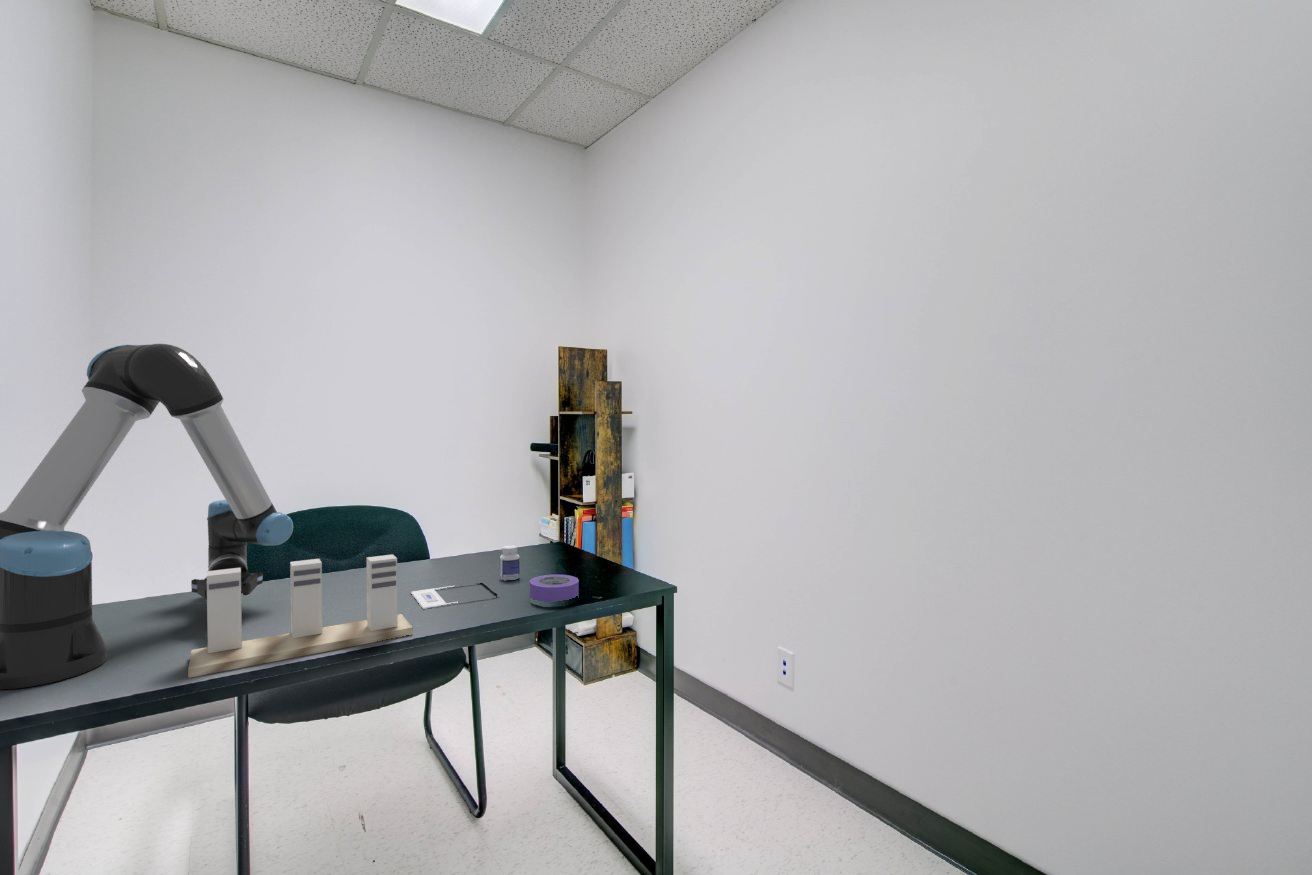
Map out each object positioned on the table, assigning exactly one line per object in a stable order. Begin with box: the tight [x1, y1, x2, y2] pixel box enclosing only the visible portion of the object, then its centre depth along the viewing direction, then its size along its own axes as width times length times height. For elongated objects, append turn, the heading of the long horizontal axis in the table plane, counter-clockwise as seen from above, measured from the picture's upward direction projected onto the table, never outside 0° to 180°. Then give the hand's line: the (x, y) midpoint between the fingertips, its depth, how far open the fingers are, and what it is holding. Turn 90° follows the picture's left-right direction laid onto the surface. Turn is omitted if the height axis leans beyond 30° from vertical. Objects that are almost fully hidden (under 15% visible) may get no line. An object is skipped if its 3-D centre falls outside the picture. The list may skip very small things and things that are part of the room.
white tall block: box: [289, 558, 323, 638], centre depth 117 cm, size 5×4×14 cm
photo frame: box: [410, 585, 458, 610], centre depth 148 cm, size 15×1×18 cm
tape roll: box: [529, 574, 580, 602], centre depth 146 cm, size 12×12×5 cm
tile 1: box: [206, 568, 243, 653], centre depth 110 cm, size 5×4×14 cm
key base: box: [187, 613, 414, 679], centre depth 115 cm, size 36×10×2 cm, turn 125°
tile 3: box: [366, 554, 398, 631], centre depth 122 cm, size 5×4×14 cm
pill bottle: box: [499, 544, 521, 577], centre depth 164 cm, size 5×5×9 cm
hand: (228, 600), depth 117 cm, fingers closed
